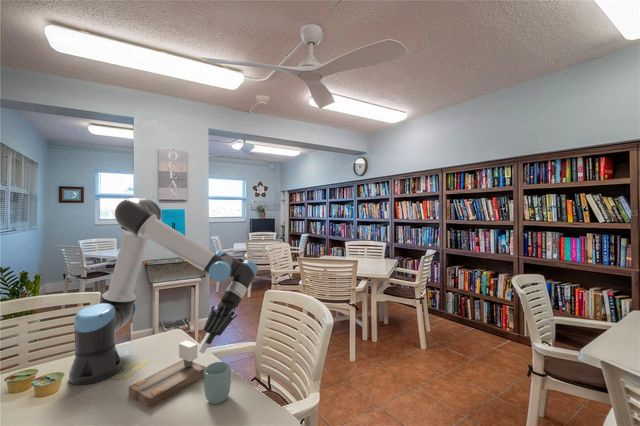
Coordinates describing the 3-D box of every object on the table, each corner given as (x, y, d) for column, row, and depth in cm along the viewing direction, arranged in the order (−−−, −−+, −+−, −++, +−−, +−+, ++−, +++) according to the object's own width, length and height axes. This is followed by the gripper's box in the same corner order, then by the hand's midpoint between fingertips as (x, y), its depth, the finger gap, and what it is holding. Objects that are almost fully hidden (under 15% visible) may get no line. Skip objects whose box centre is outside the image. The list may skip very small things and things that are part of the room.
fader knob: (179, 364, 106) (178, 343, 106) (186, 361, 109) (186, 340, 109) (189, 369, 103) (189, 347, 103) (197, 365, 106) (197, 344, 106)
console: (128, 395, 95) (128, 385, 94) (185, 366, 112) (185, 358, 112) (150, 408, 88) (150, 398, 88) (206, 375, 106) (206, 366, 106)
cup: (222, 409, 88) (222, 376, 88) (199, 406, 89) (198, 373, 89) (235, 393, 95) (235, 362, 95) (213, 390, 97) (213, 360, 97)
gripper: (250, 301, 123) (218, 359, 109) (227, 297, 129) (195, 351, 116) (240, 292, 118) (205, 351, 104) (217, 287, 125) (182, 343, 111)
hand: (200, 351), depth 110 cm, fingers closed
